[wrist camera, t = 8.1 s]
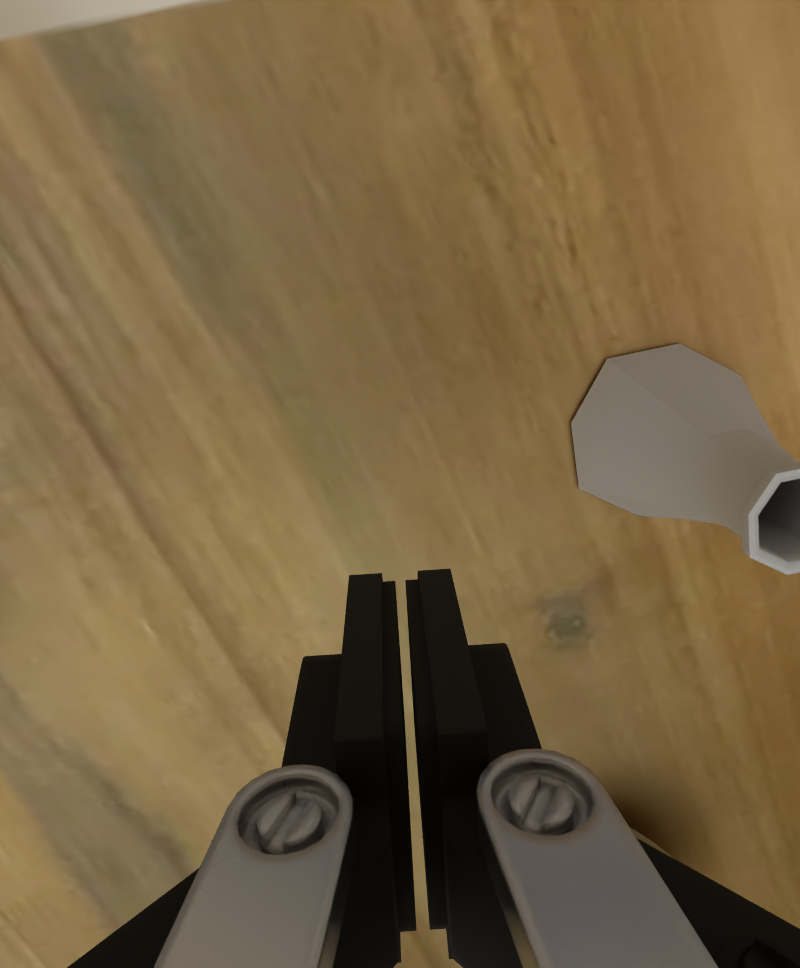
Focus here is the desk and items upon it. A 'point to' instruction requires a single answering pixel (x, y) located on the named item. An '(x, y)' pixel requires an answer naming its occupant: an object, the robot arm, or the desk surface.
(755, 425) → the flask
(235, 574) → the desk surface
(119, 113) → the desk surface
